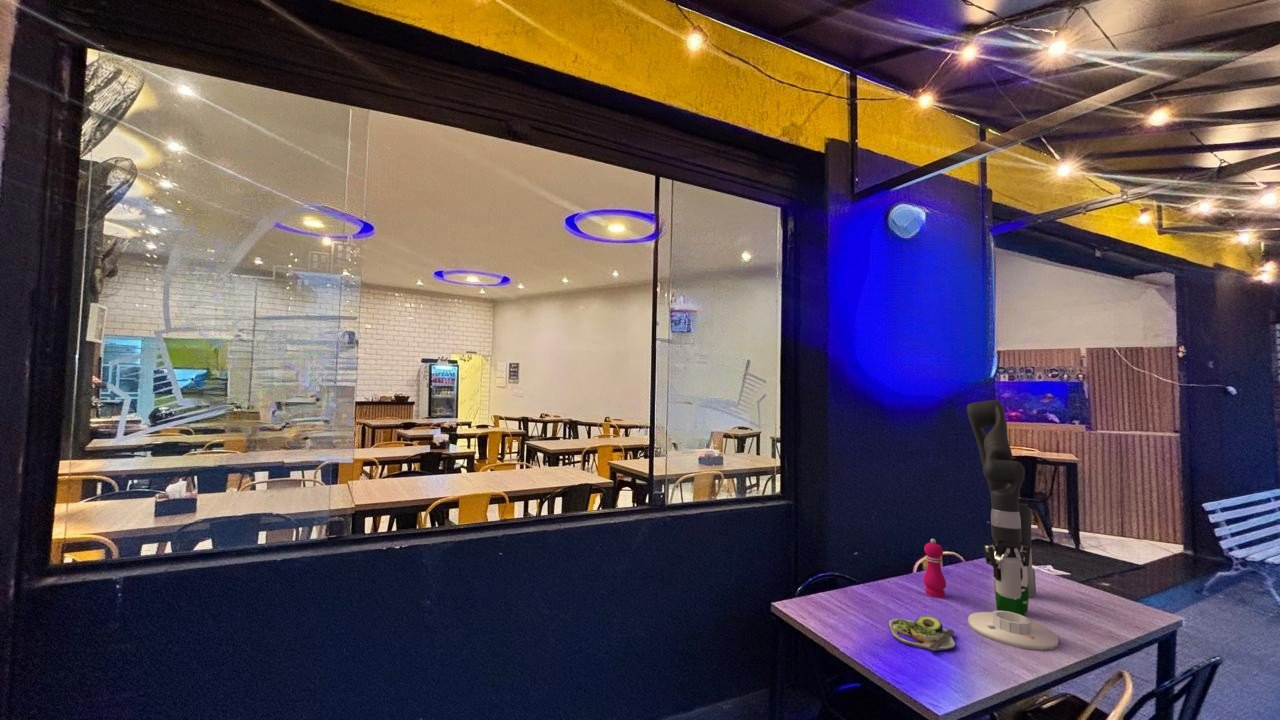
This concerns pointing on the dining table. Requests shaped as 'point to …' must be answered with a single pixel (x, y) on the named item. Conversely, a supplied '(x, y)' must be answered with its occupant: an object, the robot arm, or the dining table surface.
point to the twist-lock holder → (1013, 630)
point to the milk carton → (1015, 604)
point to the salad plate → (923, 633)
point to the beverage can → (1009, 578)
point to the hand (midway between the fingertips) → (1008, 579)
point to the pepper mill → (934, 570)
